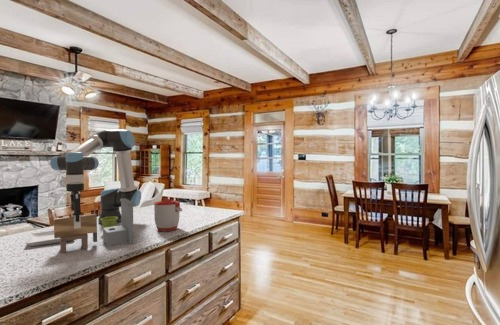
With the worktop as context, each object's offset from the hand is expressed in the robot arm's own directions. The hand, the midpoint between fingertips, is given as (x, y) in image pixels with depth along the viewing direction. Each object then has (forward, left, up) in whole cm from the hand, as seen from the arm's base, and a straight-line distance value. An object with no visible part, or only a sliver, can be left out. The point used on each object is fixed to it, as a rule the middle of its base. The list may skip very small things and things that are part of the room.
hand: (76, 225), depth 140 cm
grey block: (0, +19, -11) cm, 22 cm away
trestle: (0, -1, -12) cm, 12 cm away
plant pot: (-22, +19, -12) cm, 31 cm away
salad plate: (-25, -9, -12) cm, 29 cm away
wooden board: (0, 0, -9) cm, 9 cm away
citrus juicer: (-7, +50, -12) cm, 52 cm away
